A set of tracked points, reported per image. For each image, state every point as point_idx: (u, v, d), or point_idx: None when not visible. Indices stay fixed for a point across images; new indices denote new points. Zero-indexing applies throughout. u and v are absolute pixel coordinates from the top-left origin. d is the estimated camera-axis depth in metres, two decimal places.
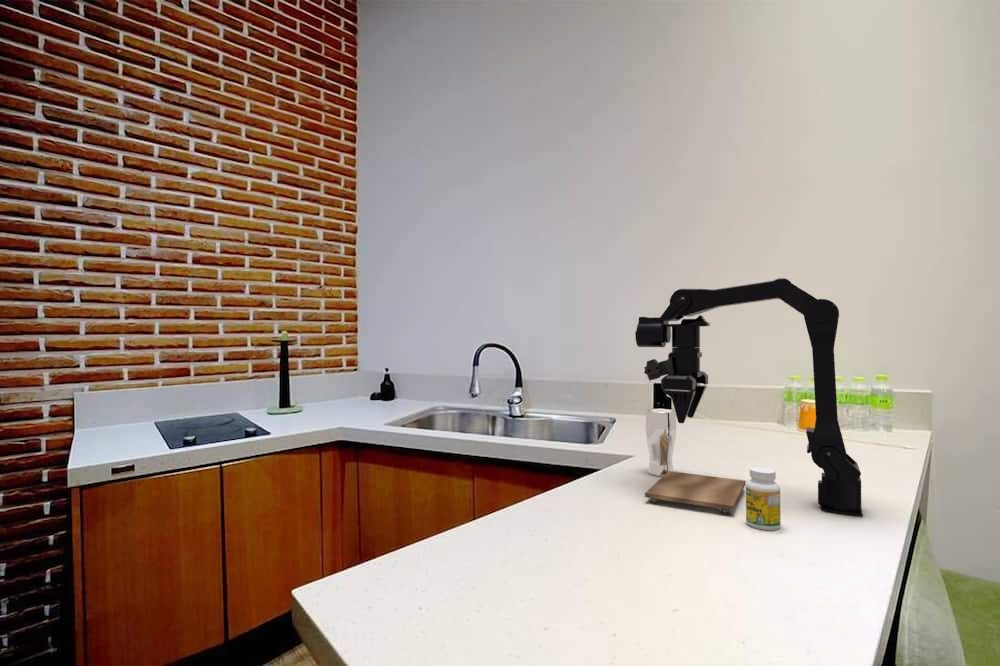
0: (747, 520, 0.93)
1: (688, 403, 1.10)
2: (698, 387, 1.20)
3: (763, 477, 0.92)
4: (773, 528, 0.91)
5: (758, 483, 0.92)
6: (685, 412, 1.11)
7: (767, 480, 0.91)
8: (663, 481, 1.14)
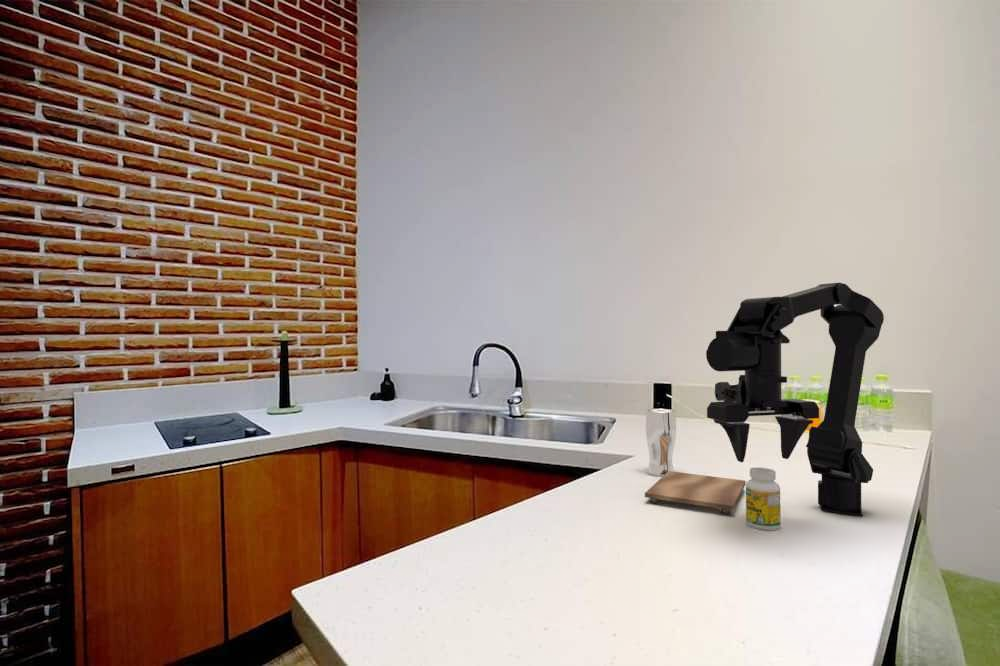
0: (747, 520, 0.93)
1: (739, 438, 0.90)
2: (794, 421, 0.93)
3: (763, 477, 0.92)
4: (773, 528, 0.91)
5: (758, 483, 0.92)
6: (740, 449, 0.91)
7: (767, 480, 0.91)
8: (663, 481, 1.14)
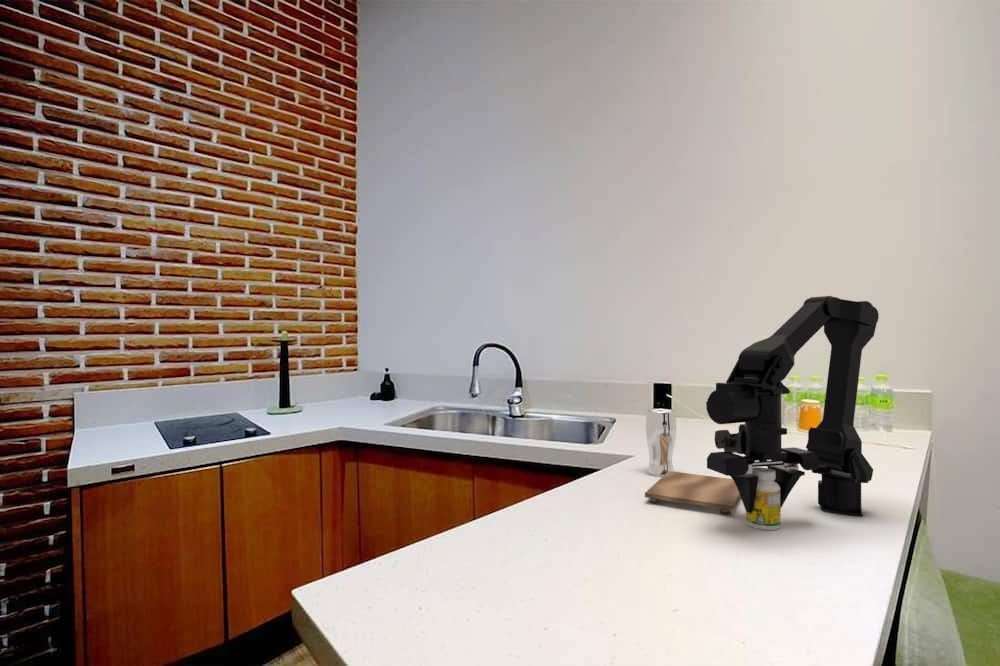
0: (747, 520, 0.93)
1: (748, 490, 0.91)
2: (786, 473, 0.93)
3: (763, 476, 0.92)
4: (773, 528, 0.91)
5: (758, 482, 0.92)
6: (748, 500, 0.91)
7: (767, 479, 0.91)
8: (663, 481, 1.14)
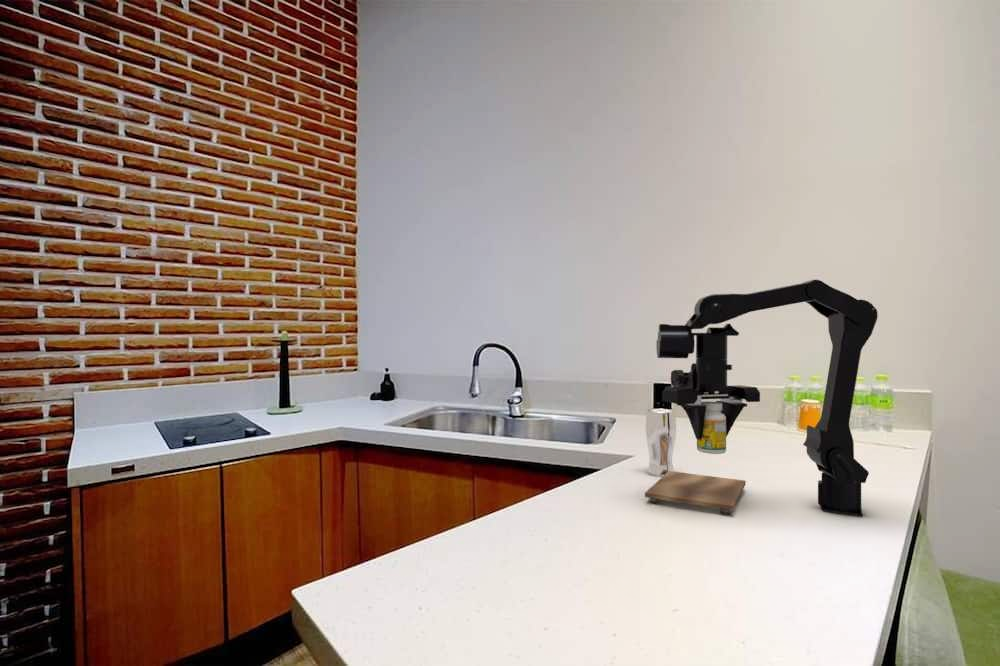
0: (697, 447, 1.06)
1: (697, 418, 1.03)
2: (731, 404, 1.05)
3: (711, 407, 1.04)
4: (719, 452, 1.03)
5: (706, 413, 1.05)
6: (698, 427, 1.04)
7: (714, 410, 1.04)
8: (663, 481, 1.14)
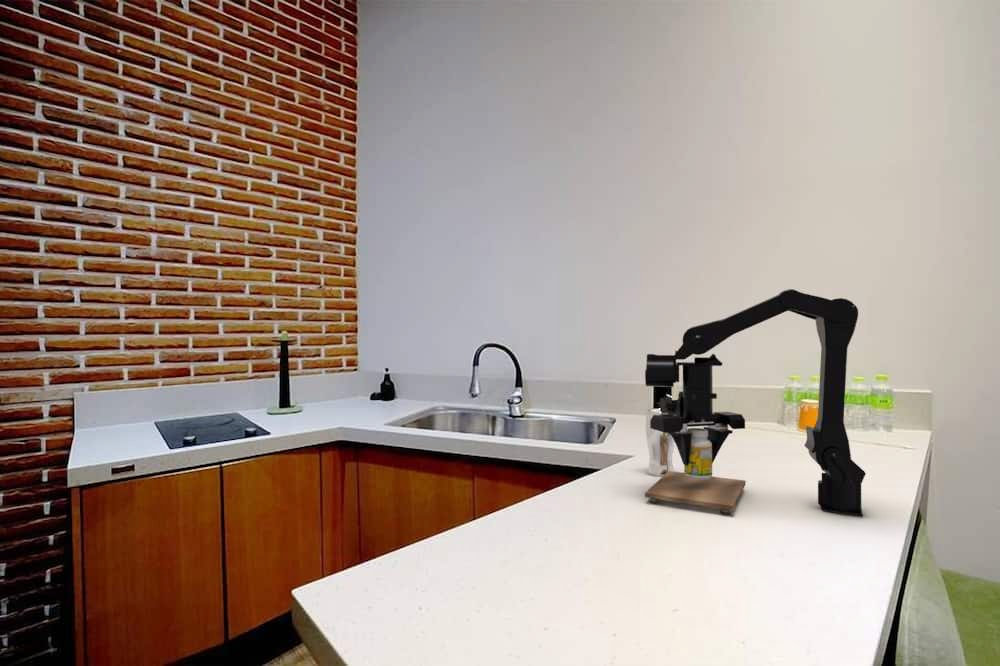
0: (685, 472, 1.10)
1: (684, 445, 1.07)
2: (717, 431, 1.10)
3: (697, 434, 1.08)
4: (705, 477, 1.08)
5: (693, 440, 1.09)
6: (684, 454, 1.08)
7: (700, 437, 1.08)
8: (663, 481, 1.14)
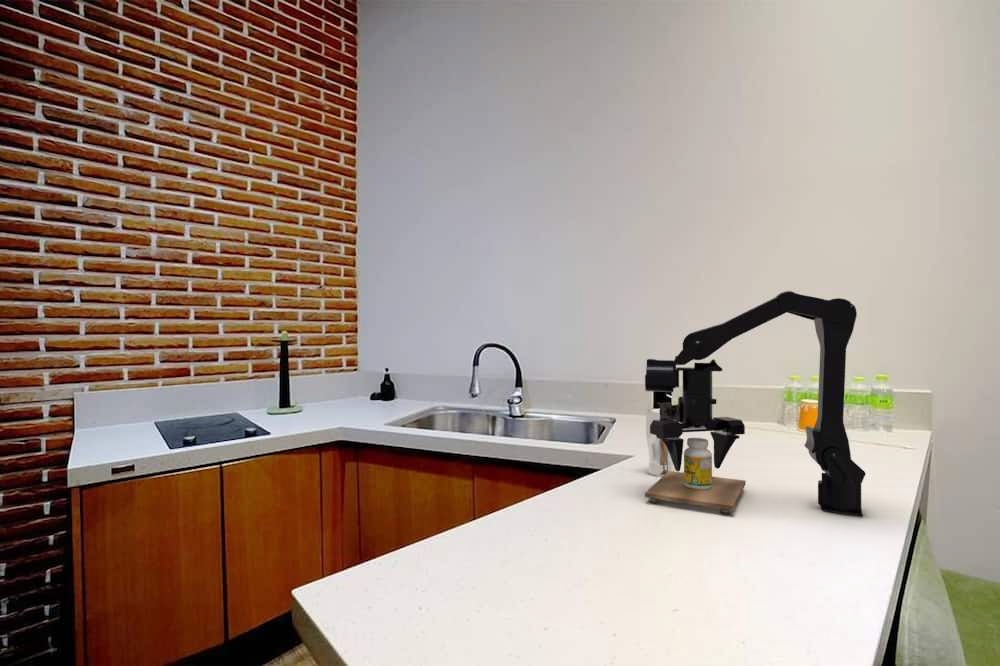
0: (684, 482, 1.10)
1: (675, 451, 1.07)
2: (724, 436, 1.10)
3: (697, 445, 1.08)
4: (705, 488, 1.08)
5: (693, 450, 1.09)
6: (676, 460, 1.08)
7: (700, 447, 1.08)
8: (663, 481, 1.14)
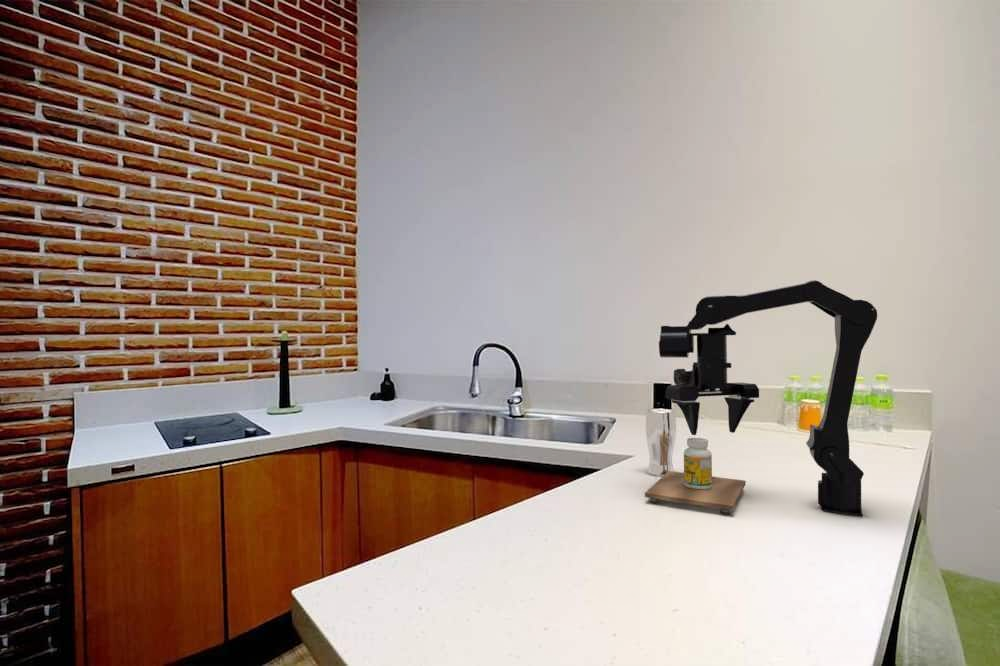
0: (684, 482, 1.10)
1: (692, 414, 1.08)
2: (739, 400, 1.11)
3: (697, 444, 1.08)
4: (705, 487, 1.08)
5: (693, 450, 1.09)
6: (692, 424, 1.09)
7: (700, 447, 1.08)
8: (663, 481, 1.14)
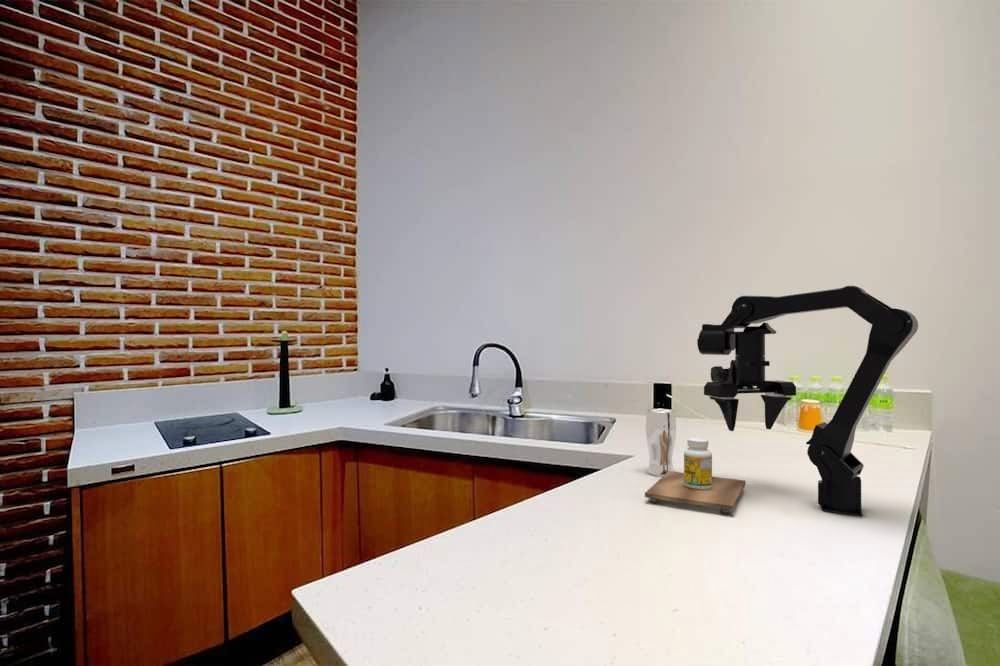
0: (684, 482, 1.10)
1: (730, 411, 1.10)
2: (776, 398, 1.13)
3: (697, 444, 1.08)
4: (705, 488, 1.08)
5: (693, 450, 1.09)
6: (730, 420, 1.11)
7: (700, 447, 1.08)
8: (663, 481, 1.14)
